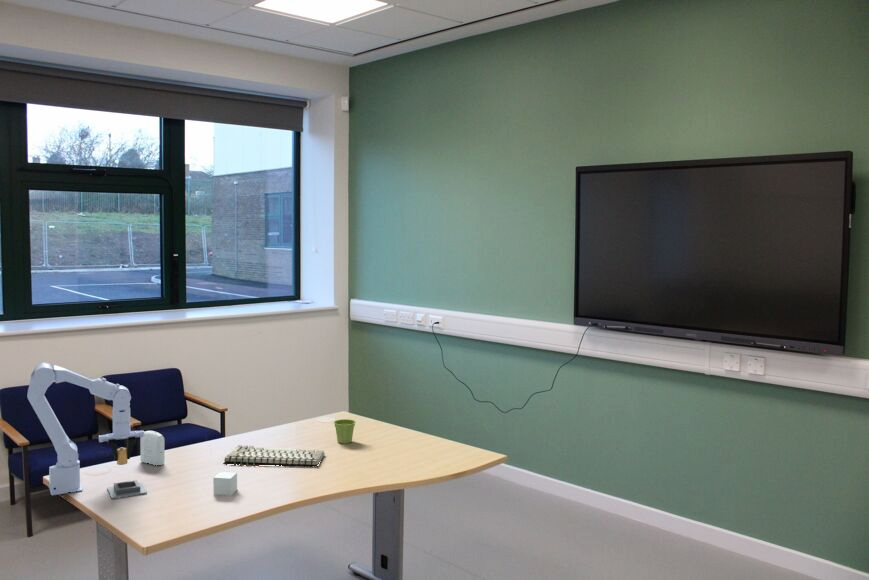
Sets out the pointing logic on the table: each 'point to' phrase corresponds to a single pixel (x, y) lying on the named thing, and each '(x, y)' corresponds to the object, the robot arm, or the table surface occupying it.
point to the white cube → (225, 483)
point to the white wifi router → (152, 448)
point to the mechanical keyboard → (273, 457)
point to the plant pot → (344, 430)
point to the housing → (126, 489)
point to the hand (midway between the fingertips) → (122, 459)
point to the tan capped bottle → (122, 456)
